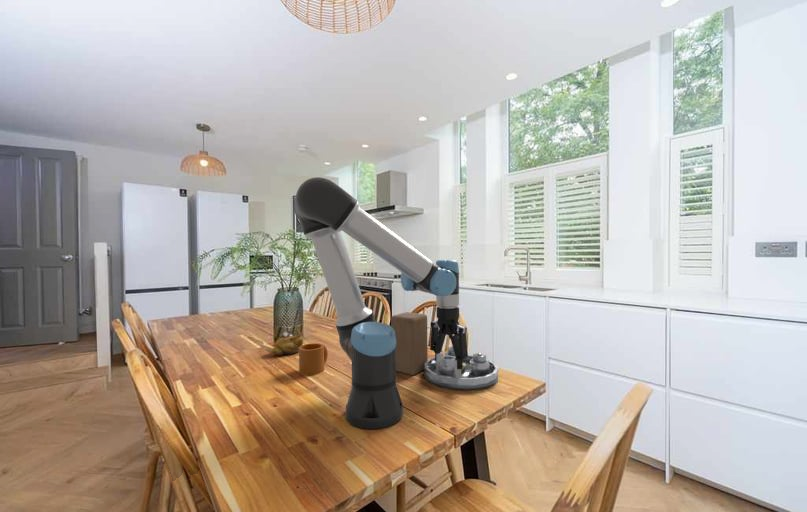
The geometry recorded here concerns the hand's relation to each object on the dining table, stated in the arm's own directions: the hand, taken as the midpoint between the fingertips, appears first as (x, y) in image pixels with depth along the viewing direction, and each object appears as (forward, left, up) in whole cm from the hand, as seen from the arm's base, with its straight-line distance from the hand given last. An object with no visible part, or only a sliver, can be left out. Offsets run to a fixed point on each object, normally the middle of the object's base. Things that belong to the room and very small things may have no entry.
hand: (448, 375), depth 111 cm
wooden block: (-2, +17, -2) cm, 17 cm away
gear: (0, 0, 0) cm, 0 cm away
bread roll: (-26, +68, -2) cm, 73 cm away
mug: (-27, +41, -2) cm, 49 cm away
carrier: (+6, 0, -2) cm, 7 cm away
